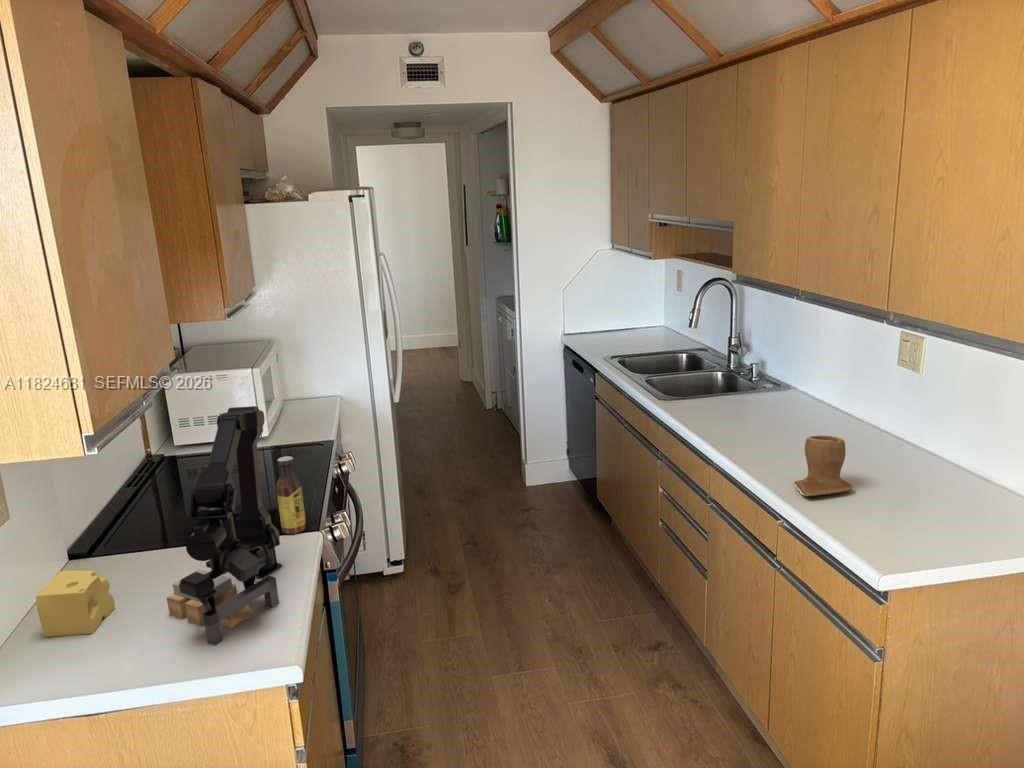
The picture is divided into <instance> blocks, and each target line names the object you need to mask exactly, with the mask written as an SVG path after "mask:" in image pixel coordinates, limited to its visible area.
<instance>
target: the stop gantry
mask: <svg viewBox="0 0 1024 768" xmlns="http://www.w3.org/2000/svg"><path fill="white" fill-rule="evenodd" d="M276 579H277V578H276V577H275V576H271V575H266V576H265V577H263V578H261V580H259V581H257V582H255V583H254V585H252V586H250V587H249V588H247V589H245V588H244V590H242V591H240V592H237V595H235V596H233V597H231V598H230V599H228V600H226V601H225V602H223V603H221V604H220V605H218V606H216V607H214V608H213V609H211V610H209V611H208V612H206V613H204V614H203V618H204V623H205V625H204V629H205V634H206V640H207V643H208V644H209V645H212V646H214V647H215V646H216V645H218V644H220V643H221V642H223V641H224V640H223V635H222V634H223V633H222V628H221V623H220V621H221V620H223V619H225V618H226V617H228V616H229V615H231V614H233V613H234V612H236V611H238V610H239V609H241V608H243V607H244V606H246V605H248V604H249V605H250V604H251V603H253V602H254V601H255V600H258V599H259V598H261V597H262V596H264V603H265V607H266V608H268V607H269V608H268V609H271V608H273V609H274V607H275V606H276V605H278V604H279V605H280V599H279V593H278V592H279V591H278V584H277V580H276ZM279 605H278V606H279ZM276 607H277V606H276ZM276 607H275V608H276Z"/></svg>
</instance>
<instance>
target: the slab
mask: <svg viewBox="0 0 1024 768" xmlns="http://www.w3.org/2000/svg"><path fill="white" fill-rule="evenodd" d="M194 572H198V573H201V574H206V573H208V572H209V571H207V570H204V569H197V570H196V571H193V572H191V573H190V574H192V573H194ZM190 574H187V575H186V576H184V577H182V578H181V579H183V578H185V577H187V576H189V575H190ZM181 579H178V580H177V581H176V582H173V583H172V589H173V593H174V594H176V595H179V596H182V597H185V598H189V599H192V600H195V601H198V602H200V601H199V599H198V598H195V597H192V596H189V595H186V594H183V593H181V592H180V588H179V582H180V581H181ZM232 584H233V582H232V578H231V577H228V576H225V575H223V576H222V577H220V578H218V579H216V580H214V588H213V590H216V593H215V594H214V599H215V598H217V597H219V596H220V595H222V594H224V593H225V592H227V591H229V590H230V589H232V588H233V587H232Z"/></svg>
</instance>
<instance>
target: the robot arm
mask: <svg viewBox="0 0 1024 768" xmlns="http://www.w3.org/2000/svg"><path fill="white" fill-rule="evenodd" d="M265 421H266V420H265V413H264V411H263V410H260V408H259V406H258V405H257V406H256V405H253V406H237V407H235V406H234V407H233V406H232V407H229V408H228V409H227V412H223V413H219V415H218V416H217V419H216V424H217V425H216V426H217V429H216V432H215V433H216V434H215V436H214V440H213V445H212V448H211V452H210V456H209V459H208V464H207V466H206V468H205V469H204V470H203V471H201V472H200V473H199V474H198V475H197V478H196V481H195V483H194V486H193V487H192V488H191V493H190V504H189V515H188V521H189V522H196V523H197V525H195V526H194V527H193V532H192V534H191V535H190V536H189V538H188V539H187V541H186V545H185V549H186V553H187V554H188V555H189V557H190V558H192V559H194V560H195V561H199V562H205V566H206V567H207V568H209V569H210V571H208V573H206V574H201V573H198V572H195V571H193V572H194V573H193V572H191V573H192V574H191V573H190V574H188V575H189V576H188V575H186V576H187V577H186V576H184V577H185V578H184V577H182V578H183V579H182V578H180V580H181V581H180V582H179V588H180V592H181V593H183V594H186V595H189V596H192V597H195V598H198V599H199V601H200V602H201V603H202V604H203V606H204V607H205V608H206V609H207V611H209V610H211V609H213V608H214V607H216V606H215V601H214V594H215V593H216V590H213V588H214V580H216V579H218V578H220V577H222V576H225V575H227V574H228V573H229V574H230V575H232V577H234V578H235V579H236V580H237V581H239V582H241V583H242V584H243V587H244V590H245V589H247V588H249V587H250V586H252V585H254V584H255V583H256V578H260V579H263V578H265V577H267V576H269V574H271V573H273V572H275V571H276V570H279V569H280V568H281V567H282V566H283V565H282V563H279V562H278V561H277V555H276V553H277V552H276V547H278V546H280V545H281V542H280V531H279V530H278V529H277V528H276V526H275V525H274V524H273V523H272V518H271V517H272V516H271V514H270V512H269V511H268V510H267V509H266V508H265V506H264V505H263V500H262V499H263V497H262V488H261V485H262V484H261V474H260V465H259V464H260V463H259V455H258V453H259V451H258V443H259V440H260V438H261V436H262V434H263V432H264V424H265ZM235 458H236V459H235ZM235 461H236V465H237V467H236V469H237V477H238V489H239V499H240V501H239V502H240V511H239V512H238V515H237V517H236V518H235V519H234V517H233V513H234V512H235V506H236V499H237V492H238V491H237V489H236V484H235V483H234V480H233V478H232V472H233V468H234V464H235V463H234V462H235ZM199 509H201V510H199ZM202 509H208V510H202Z"/></svg>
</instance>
